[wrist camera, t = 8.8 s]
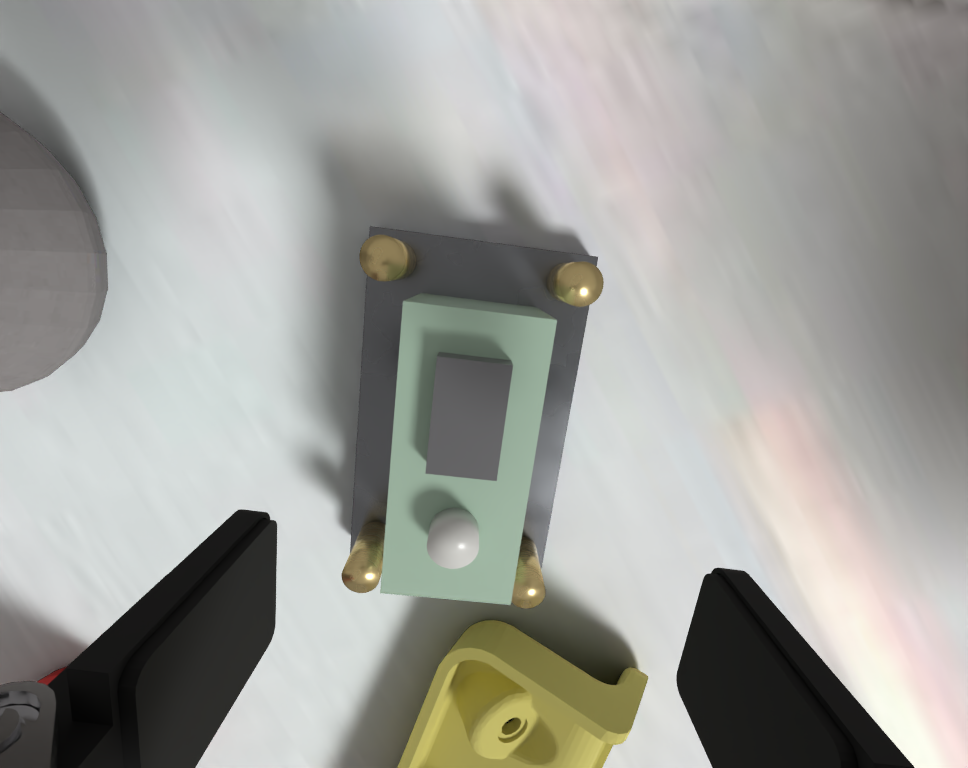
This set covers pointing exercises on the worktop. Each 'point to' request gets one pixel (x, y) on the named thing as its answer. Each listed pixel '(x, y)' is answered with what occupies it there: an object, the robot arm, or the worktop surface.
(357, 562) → the chassis
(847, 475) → the worktop surface
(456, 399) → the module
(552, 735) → the plastic component
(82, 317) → the coffee pot
